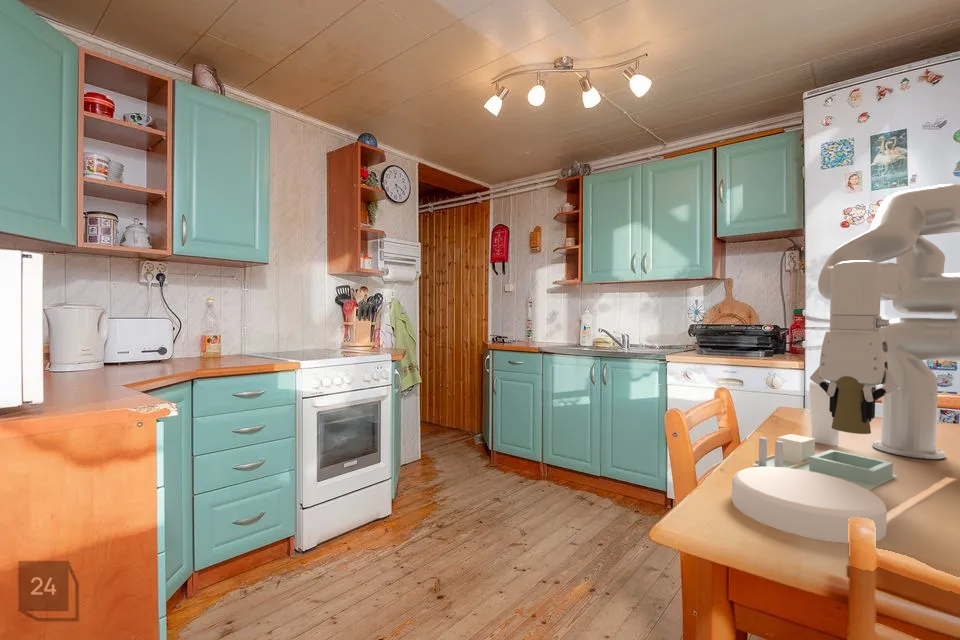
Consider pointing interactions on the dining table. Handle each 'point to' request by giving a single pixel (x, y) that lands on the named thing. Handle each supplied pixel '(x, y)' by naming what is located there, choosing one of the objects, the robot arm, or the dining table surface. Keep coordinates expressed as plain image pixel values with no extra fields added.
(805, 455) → the block
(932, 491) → the dining table surface
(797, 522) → the container
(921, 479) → the dining table surface
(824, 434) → the drinking glass
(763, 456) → the base
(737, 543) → the dining table surface
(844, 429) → the olive tapered round-topped piece
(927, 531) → the dining table surface
